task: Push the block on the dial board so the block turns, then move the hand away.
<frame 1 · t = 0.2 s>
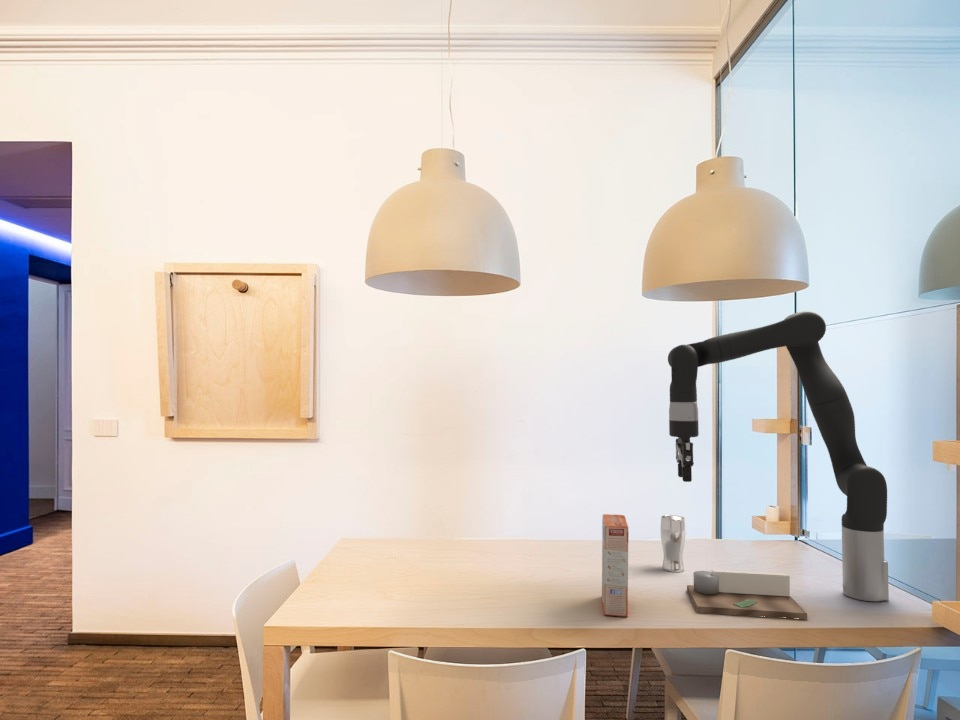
hand: (684, 479, 168), 28 cm above the table, tool pointing down, fingers open, 8 cm apart
dial board: (743, 604, 152), on the table
beer glass: (673, 569, 182), on the table
cracker box: (614, 607, 150), on the table
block: (740, 582, 156), point 4 cm above the table, hinge at 0.0°
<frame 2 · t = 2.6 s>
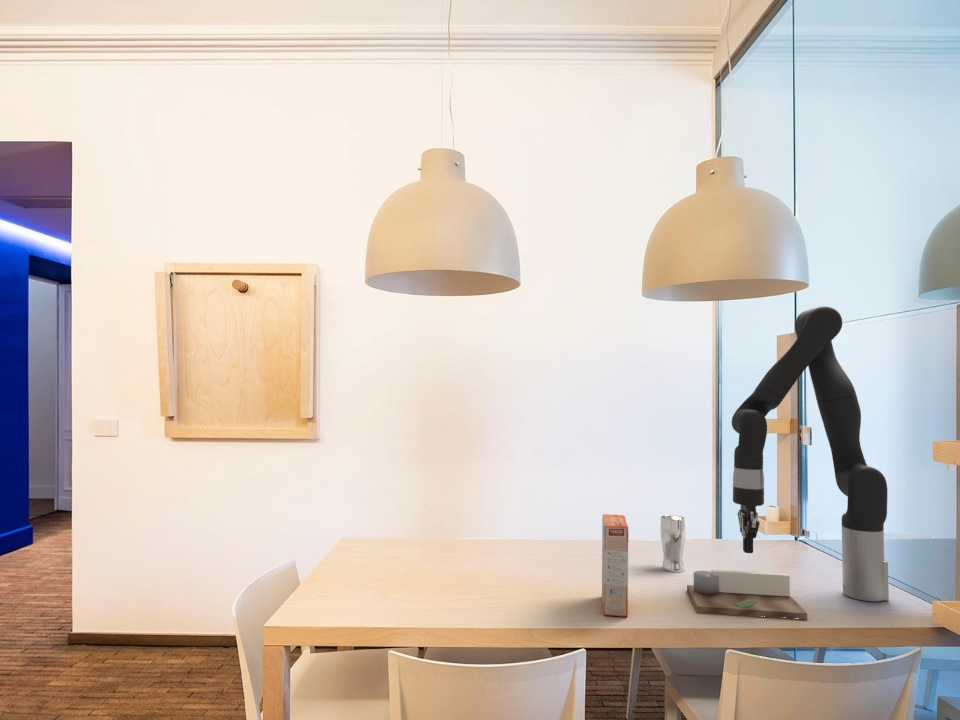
hand: (747, 552, 162), 10 cm above the table, tool pointing down, fingers closed
nothing on the table moved.
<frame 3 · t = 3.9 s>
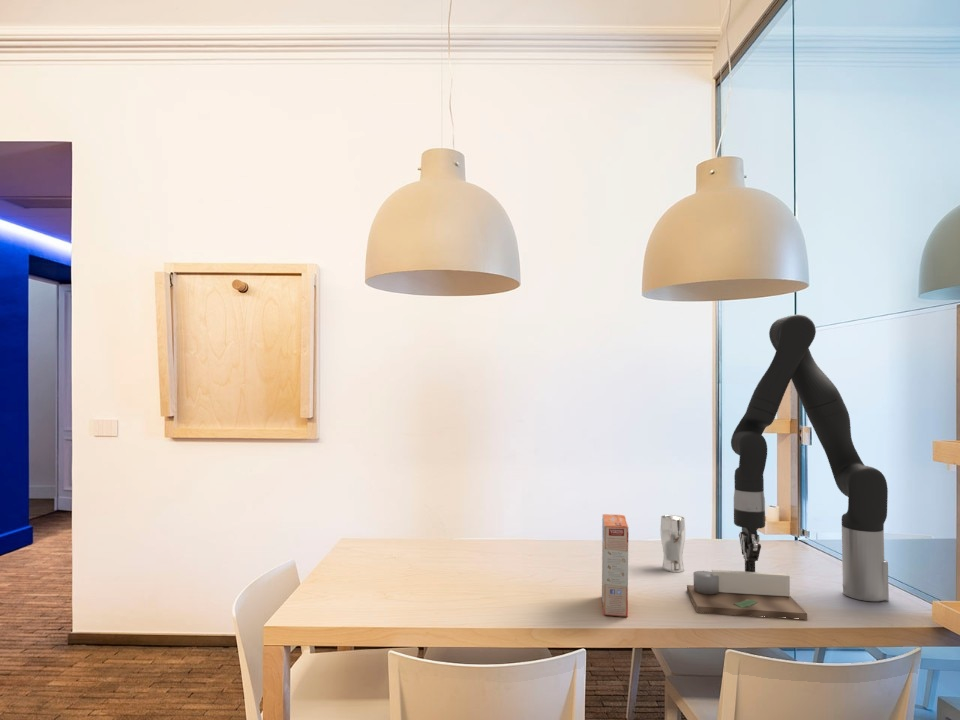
hand: (750, 574, 161), 5 cm above the table, tool pointing down, fingers closed
nothing on the table moved.
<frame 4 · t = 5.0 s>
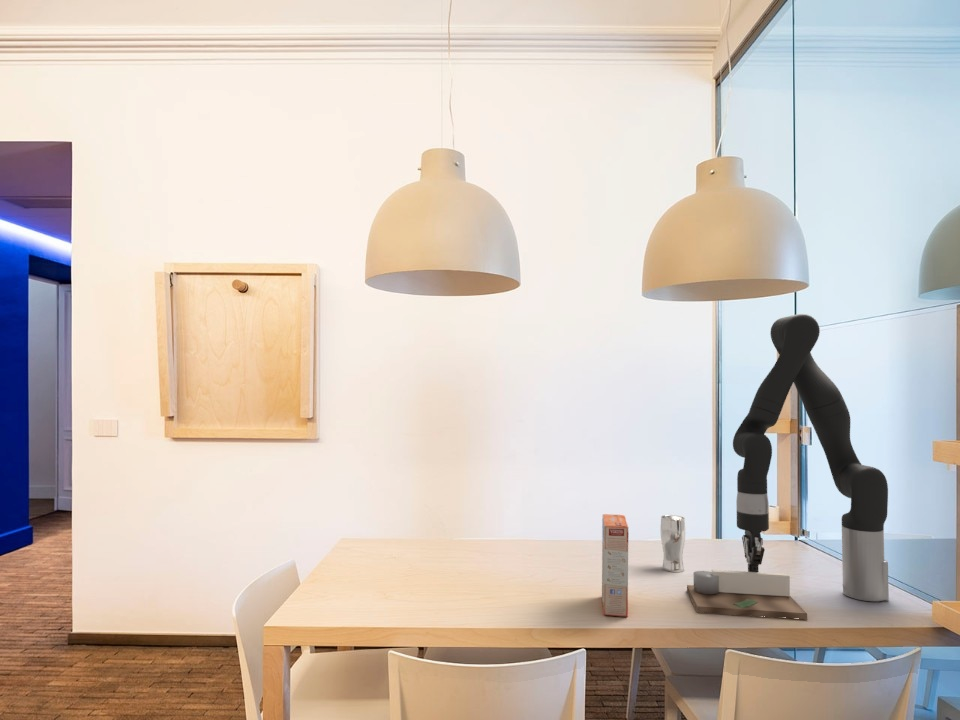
hand: (753, 578, 158), 5 cm above the table, tool pointing down, fingers closed
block: (740, 582, 156), point 4 cm above the table, hinge at 0.0°, touching gripper
everything else where it was.
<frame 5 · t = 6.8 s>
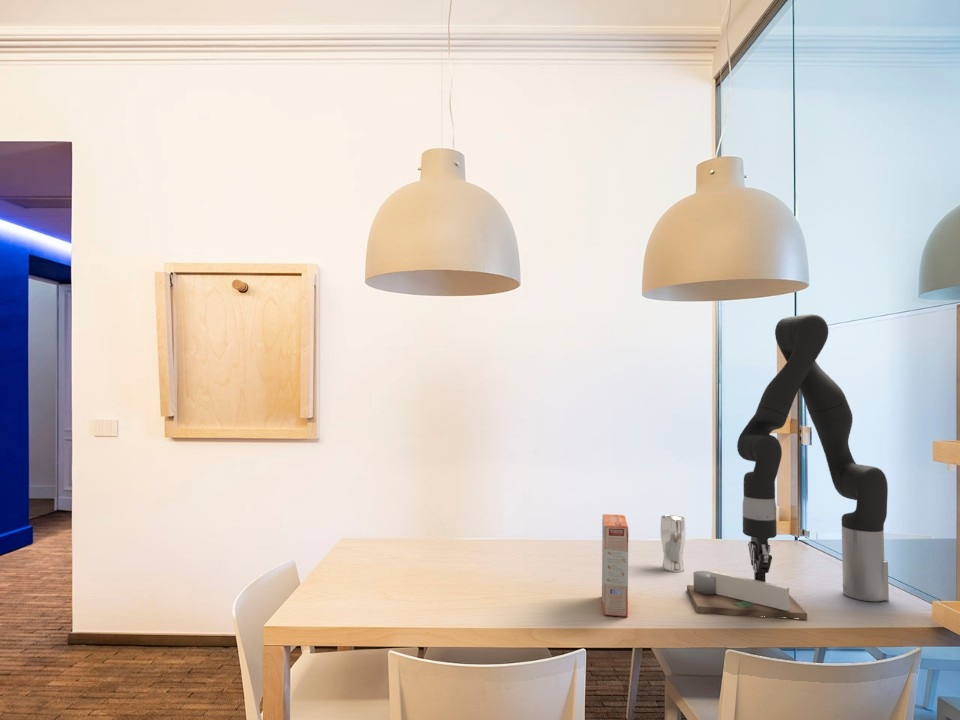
hand: (759, 587, 151), 5 cm above the table, tool pointing down, fingers closed
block: (739, 587, 152), point 4 cm above the table, hinge at 34.0°, touching gripper
everything else where it was.
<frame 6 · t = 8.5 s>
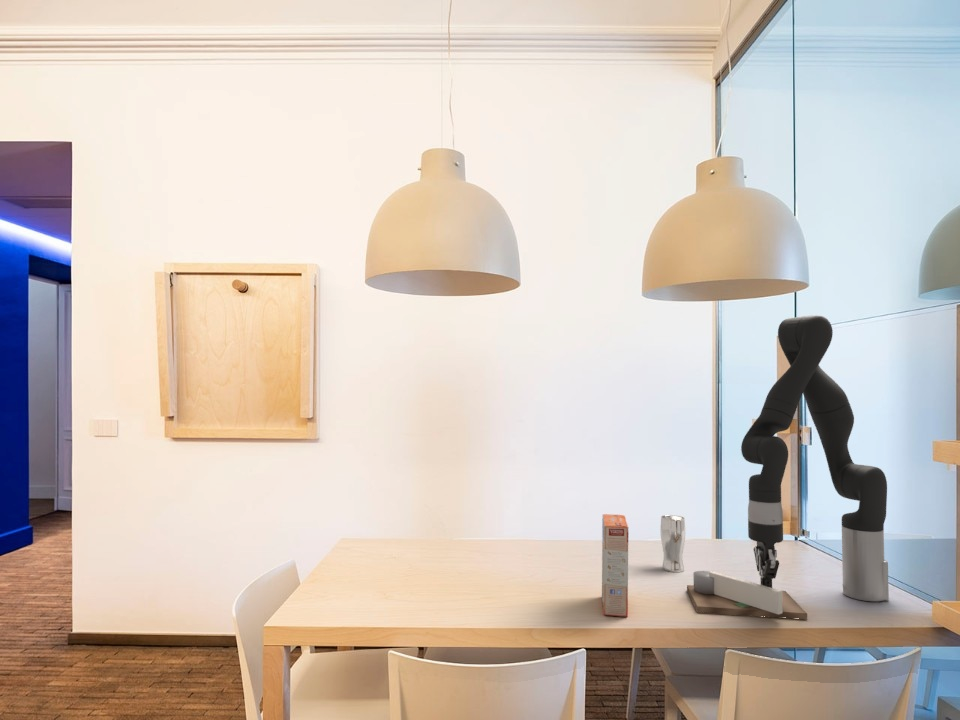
hand: (766, 593, 147), 4 cm above the table, tool pointing down, fingers closed
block: (735, 589, 150), point 4 cm above the table, hinge at 45.6°, touching gripper
everything else where it was.
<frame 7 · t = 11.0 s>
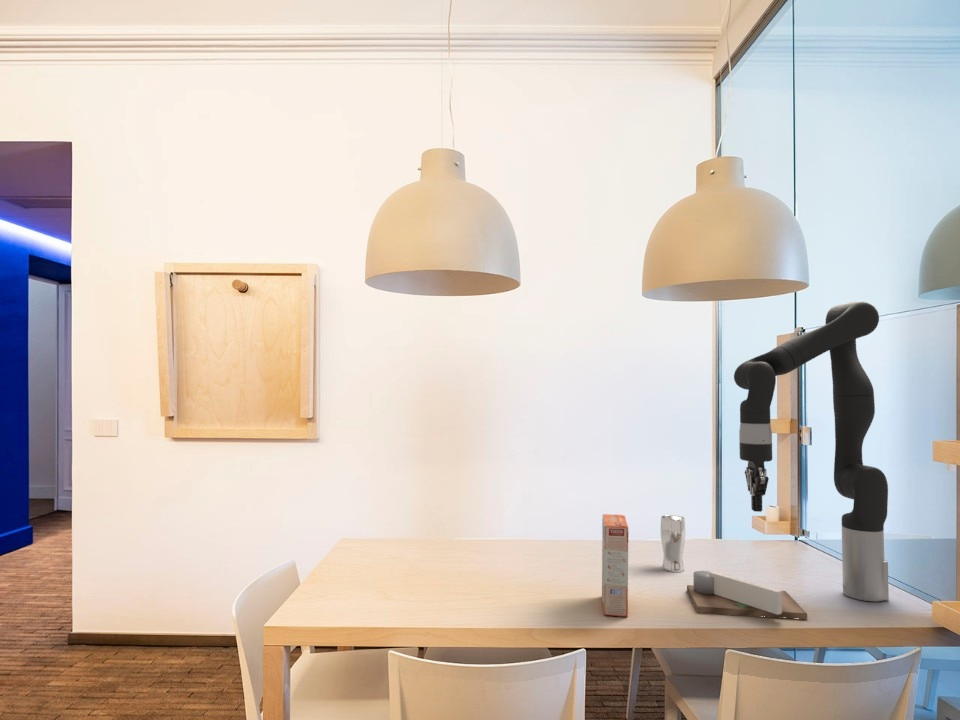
hand: (756, 510, 156), 22 cm above the table, tool pointing down, fingers closed
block: (735, 589, 150), point 4 cm above the table, hinge at 46.2°
everything else where it was.
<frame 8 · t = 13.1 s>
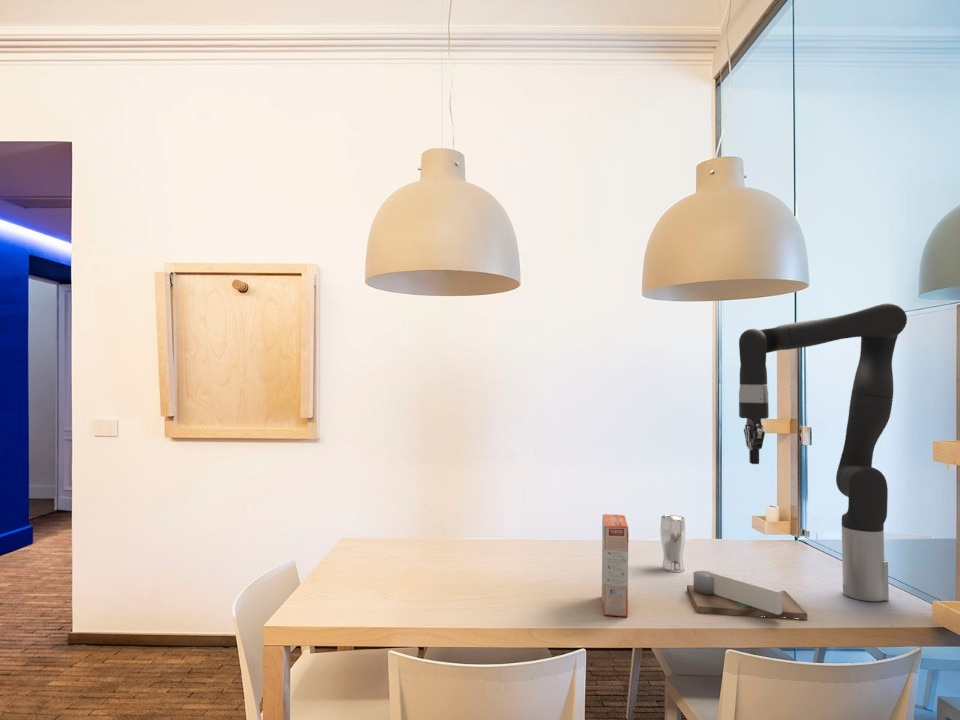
hand: (754, 463, 172), 32 cm above the table, tool pointing down, fingers closed
nothing on the table moved.
at the end: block at +46° (first picture: +0°); beer glass moved 0.2 cm from its start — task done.
